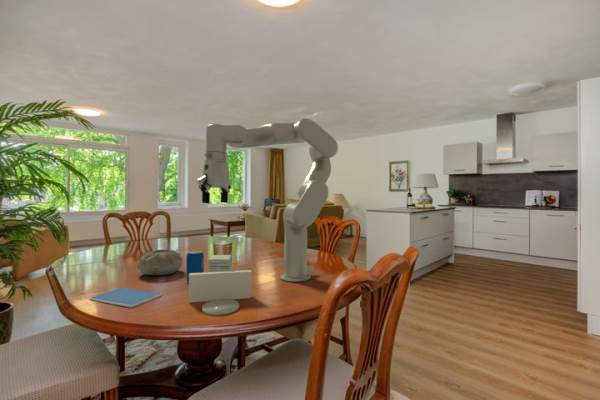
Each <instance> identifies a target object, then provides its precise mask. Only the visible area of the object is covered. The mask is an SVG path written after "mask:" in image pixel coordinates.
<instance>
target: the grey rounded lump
mask: <svg viewBox="0 0 600 400" xmlns="http://www.w3.org/2000/svg"><path fill="white" fill-rule="evenodd" d="M136 265H137V266H136V267H137V269H138V270H139V271H140V272H141V273H142V274H144V275H147V276H167V275H169V276H170V275H171V274H174V273H176V272H177V271H179V270H180V268H182V265H183V257H182V256H181V253H180V252H178V251H177V250H176V251H175V250H173V249H170V248H169V249H155V250H151V251H148V252H146V253H145V254H143V255H142V256H141V257H140V258H139V259H138V262H137V264H136Z"/></svg>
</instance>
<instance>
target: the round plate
mask: <svg viewBox="0 0 600 400" xmlns="http://www.w3.org/2000/svg"><path fill="white" fill-rule="evenodd" d="M201 308H202V309H201V310H202V312H203V314H206V315H209V316H223V315H228V314H233V313H235V312H236V311H238V310H239V308H240V303H239V301H237V300H235V299H231V300H229V299H220V300H214V301H206V302H205V303H204V304H203V305H202V307H201Z"/></svg>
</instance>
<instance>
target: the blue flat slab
mask: <svg viewBox="0 0 600 400" xmlns="http://www.w3.org/2000/svg"><path fill="white" fill-rule="evenodd" d="M160 297H162V293H158V292H151V291H147V290H146V291H145V290H139V289H132V288H127V287H120V288H116V289H114V290H110V291H107V292H104V293H101V294H98V295H94V296H90V298H89V301H91V300H93V301H92V302H99V303H103V304H108V303H109V305H115V306H120V307H125V308H129V309H131V308H133V309H134V308H135V307H138V306H141V305H143V304H146V303H148V302H150V301H153V300H156V299H158V298H160Z"/></svg>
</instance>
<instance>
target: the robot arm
mask: <svg viewBox="0 0 600 400" xmlns="http://www.w3.org/2000/svg"><path fill="white" fill-rule="evenodd" d="M205 132H206V133H205V134H206V135H205V136H206V139H205V140H206V143H205V145H206V146H205V153H204V156H205V160H204V164H203V170H202V176H201V177H199V178H198V179H196V181H197V185H198V188H199V190H200V192H201V202H202V204H210V202H211V201H210V200H211V199H210V198H211V194H210V193H211V192H210V190H211V188H219V189H220V191H221V192H220V203H225V204H228V202H229V193H230V189H231V187H232V185H233V181H232V180H230V169H229V168H230V167H229V163H228V162H227V148H228V147H227V146H229V147H231V148H235V149H242V148H254V147H255V148H257V147H264V146H265V147H267V146H274V145H275V146H276V145H289V144H302V143H305V142H306V143H307V144H308V145H310V146H309V149H308V151H309V155H310V159H311V162H312V163H311V168H310V169H309V172H308V174H307V175H306V176H305V178H304V180H303V181H302V183H301V185H300V186H299V189H298V192H297V194H298V197H299V201H298V202H297V201H294V202H293V201H292V202H291V203H288V204H287V205H286V206H285V208H284V209H283V214H282V218H283V225H284V226H283V227H284V242H283V243H284V246H283V247H284V251H283V252H284V253H283V254H284V256H283V257H284V261H283V263H284V265H283V266H284V267H283V268H284V269H283V272H282V273H281V274H279V275H280V280H283V281H285V282H290V283H291V282H292V283H293V282H294V283H296V282H297V283H299V282H307V281H309V280H310V279H311V277H312V276H311V274H310V273H309V272H310V271H314V270H315V266H314V265H310V266H309V265H308V228H307V227H309V226H311V225H312V224H313V223H314V222H315V220H316V219H317V218H318V216H319V214H320V213H321V211H322V209H323V207H324V205H325V203H326V202H327V200H328V198H329V188H328V185H327V181H328V180H329V178H330V176H331V172H332V164H331V163H332V162H331V158H333V157H334V156H336V154H337V153H338V151H339V150H338V149H339V147H338V145H339V144H338V142H337V141H336V140H335V139H336V138H334V137H333V136H332V135H330V134H329V133H328V132H327V131H326V130H325V129H324V128H323V127H321V126H320V125H319V124H317V122H315V121H314V120H312V119H310V118H306V117H305V118H301V119H300V120H298V121H294V122H293V121H292V122H289V121H288V122H272V123H267V124H264V125H261V126H260V127H254V128H246V127H245V126H243V125H240V124H229V125H227V124H226V125H225V124H224V125H223V124H220V123H211V124H208V125H206V131H205Z"/></svg>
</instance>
